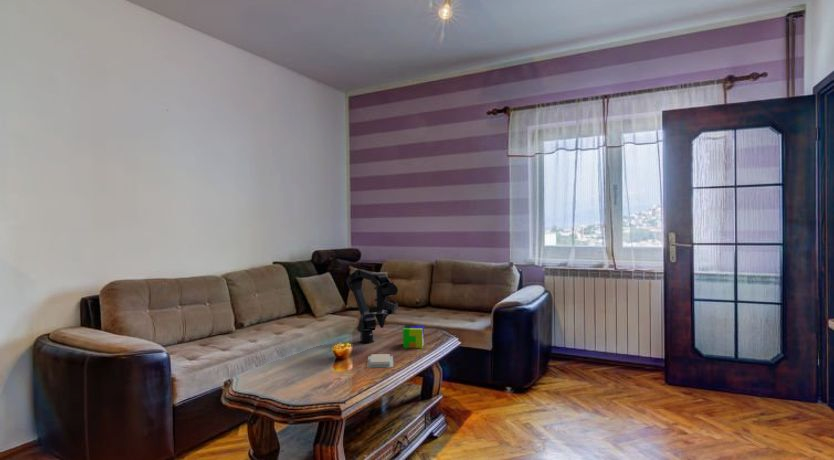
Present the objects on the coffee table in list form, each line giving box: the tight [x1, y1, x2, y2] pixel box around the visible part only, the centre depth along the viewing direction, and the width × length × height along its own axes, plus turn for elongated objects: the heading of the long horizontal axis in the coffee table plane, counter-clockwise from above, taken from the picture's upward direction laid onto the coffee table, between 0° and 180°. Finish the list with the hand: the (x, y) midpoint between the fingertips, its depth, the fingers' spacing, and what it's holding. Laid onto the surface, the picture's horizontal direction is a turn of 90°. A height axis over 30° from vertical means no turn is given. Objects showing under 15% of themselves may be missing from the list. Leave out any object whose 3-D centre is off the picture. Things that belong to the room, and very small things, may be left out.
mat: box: [366, 355, 394, 368], centre depth 216 cm, size 17×12×1 cm
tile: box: [369, 353, 391, 368], centre depth 214 cm, size 2×9×12 cm
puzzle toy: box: [402, 324, 425, 350], centre depth 244 cm, size 10×10×10 cm
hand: (381, 327), depth 237 cm, fingers closed
